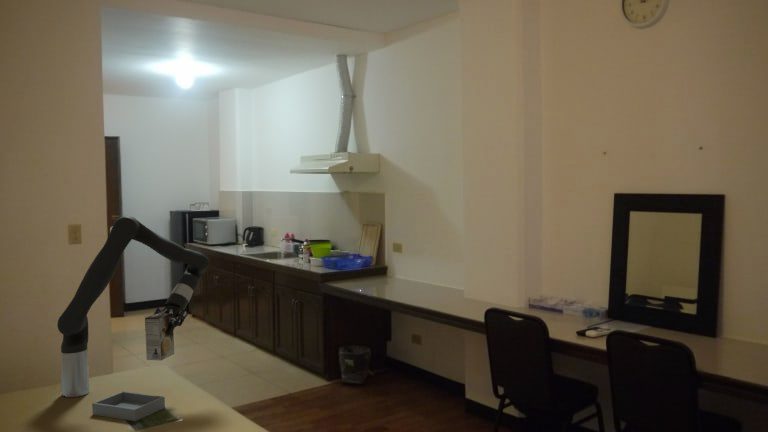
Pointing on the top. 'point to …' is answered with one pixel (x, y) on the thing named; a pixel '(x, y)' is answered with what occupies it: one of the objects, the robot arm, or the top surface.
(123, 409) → the tray
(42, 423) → the top surface
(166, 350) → the coffee box
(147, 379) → the top surface
